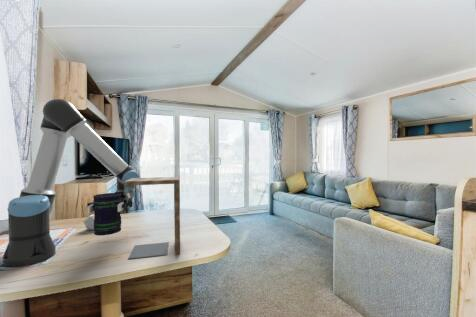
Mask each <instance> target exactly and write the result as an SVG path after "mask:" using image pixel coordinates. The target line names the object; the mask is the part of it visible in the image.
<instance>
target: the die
mask: <svg viewBox="0 0 476 317" xmlns="http://www.w3.org/2000/svg"><path fill="white" fill-rule="evenodd" d="M83 224H84V226H85V228H86V230H87V231H94V213H93V214H92V213H90V215H89V216H88V217H86V218H85V220H84V221H83Z"/></svg>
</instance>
